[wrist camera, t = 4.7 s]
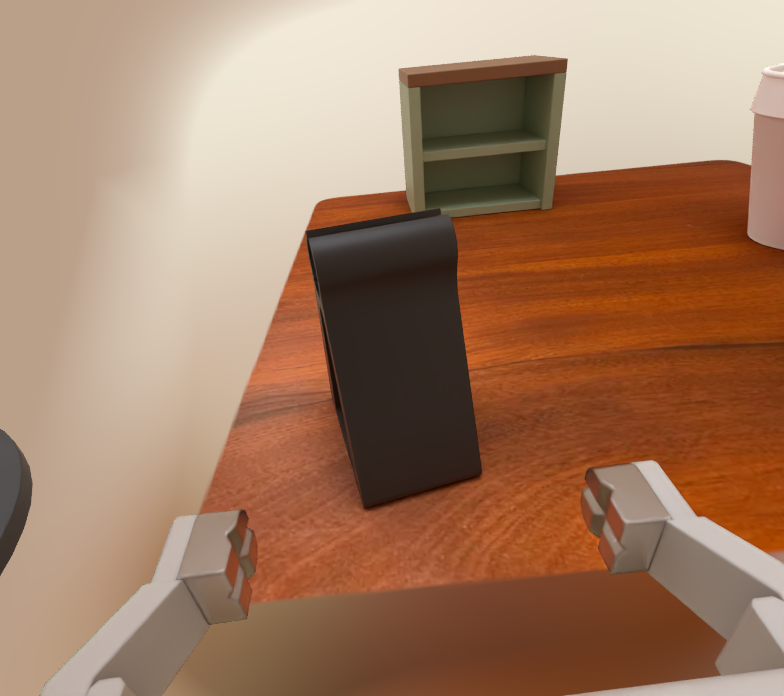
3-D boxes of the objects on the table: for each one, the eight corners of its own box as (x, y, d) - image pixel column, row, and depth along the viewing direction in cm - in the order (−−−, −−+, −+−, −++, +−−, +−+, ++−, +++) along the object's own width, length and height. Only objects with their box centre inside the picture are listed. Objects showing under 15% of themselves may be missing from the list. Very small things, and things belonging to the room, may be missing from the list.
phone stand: (481, 478, 23) (491, 246, 17) (363, 511, 22) (322, 278, 16) (423, 375, 31) (413, 186, 24) (331, 396, 30) (295, 204, 23)
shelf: (415, 223, 55) (407, 74, 47) (406, 198, 63) (398, 68, 55) (552, 208, 55) (568, 58, 47) (525, 186, 64) (534, 55, 55)
